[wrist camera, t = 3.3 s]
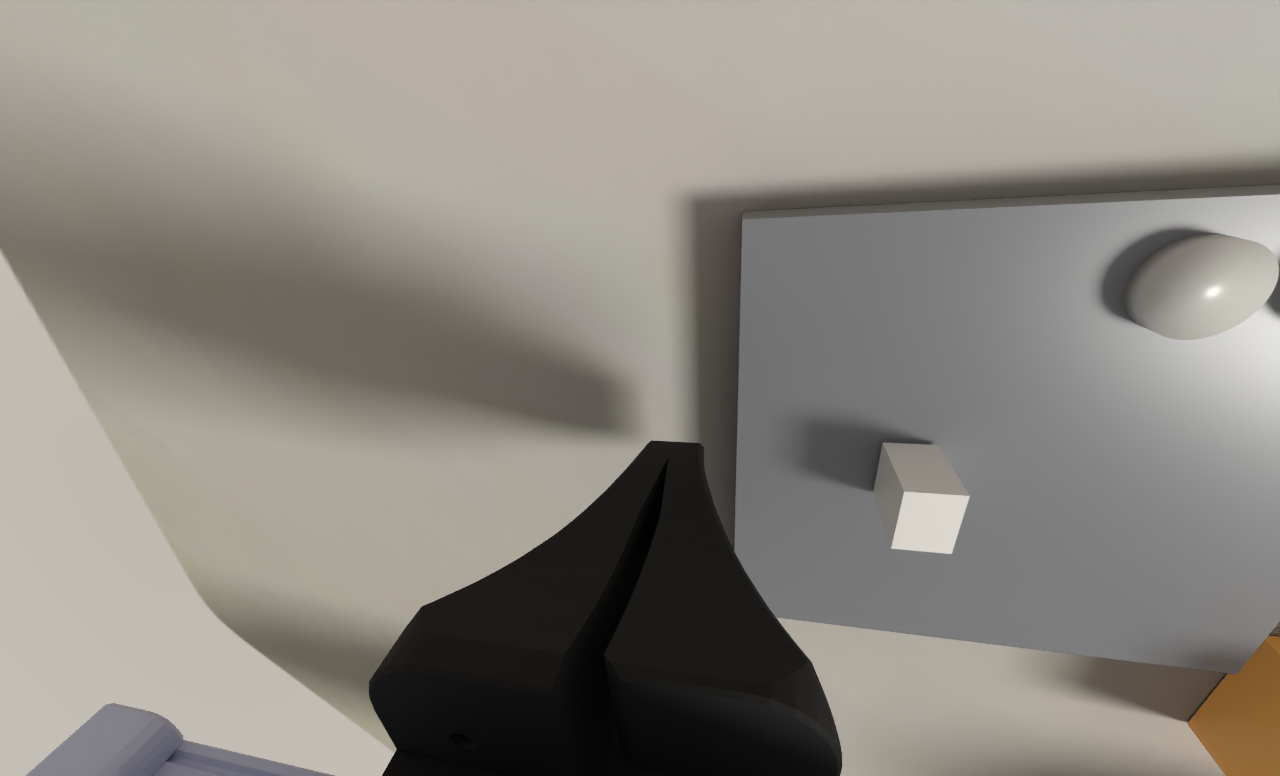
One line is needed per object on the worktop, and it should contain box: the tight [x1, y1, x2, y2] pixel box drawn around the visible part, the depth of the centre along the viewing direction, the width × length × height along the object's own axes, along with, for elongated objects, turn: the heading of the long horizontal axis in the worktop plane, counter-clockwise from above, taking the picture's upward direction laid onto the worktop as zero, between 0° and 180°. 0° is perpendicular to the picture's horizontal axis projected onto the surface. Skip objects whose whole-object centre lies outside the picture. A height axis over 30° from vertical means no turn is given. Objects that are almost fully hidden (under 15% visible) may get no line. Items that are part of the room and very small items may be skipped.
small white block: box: [873, 442, 970, 554], centre depth 11 cm, size 1×2×2 cm
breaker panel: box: [734, 184, 1280, 674], centre depth 11 cm, size 13×12×2 cm
